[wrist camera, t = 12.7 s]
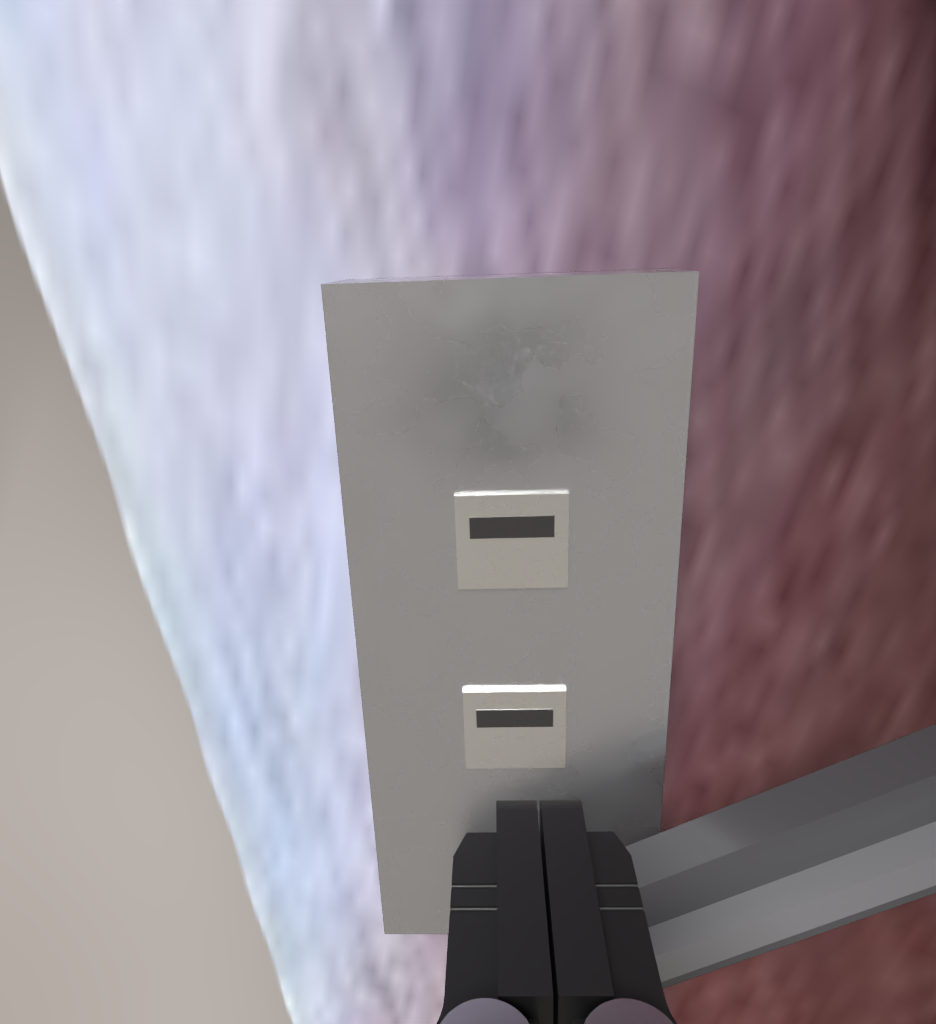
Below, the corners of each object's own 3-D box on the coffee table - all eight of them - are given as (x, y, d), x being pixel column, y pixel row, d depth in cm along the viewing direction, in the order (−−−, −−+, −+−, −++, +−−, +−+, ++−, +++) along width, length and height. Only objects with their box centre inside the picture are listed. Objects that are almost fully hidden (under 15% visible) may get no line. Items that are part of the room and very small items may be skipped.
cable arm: (1029, 803, 27) (1097, 873, 24) (494, 999, 31) (494, 1079, 28) (991, 701, 25) (1059, 762, 22) (436, 921, 29) (430, 997, 26)
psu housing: (663, 268, 27) (715, 272, 21) (631, 847, 37) (661, 969, 30) (349, 279, 28) (308, 286, 21) (397, 848, 37) (379, 969, 31)
